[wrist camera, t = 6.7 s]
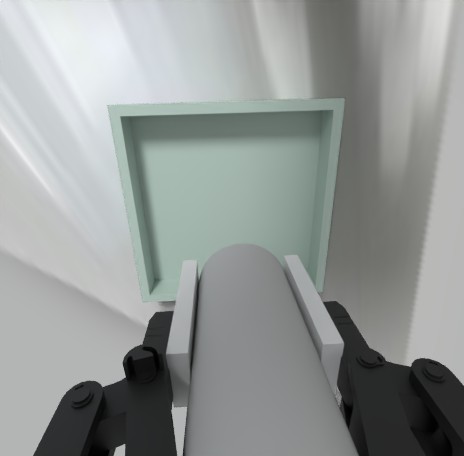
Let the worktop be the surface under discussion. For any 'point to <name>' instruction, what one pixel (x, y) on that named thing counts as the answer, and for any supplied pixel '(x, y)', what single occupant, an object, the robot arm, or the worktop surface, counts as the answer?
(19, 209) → the worktop surface
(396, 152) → the worktop surface
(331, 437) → the beverage can
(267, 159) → the tray
